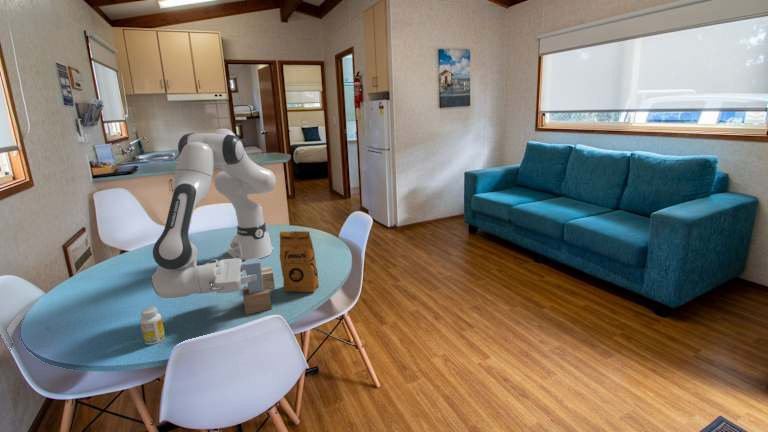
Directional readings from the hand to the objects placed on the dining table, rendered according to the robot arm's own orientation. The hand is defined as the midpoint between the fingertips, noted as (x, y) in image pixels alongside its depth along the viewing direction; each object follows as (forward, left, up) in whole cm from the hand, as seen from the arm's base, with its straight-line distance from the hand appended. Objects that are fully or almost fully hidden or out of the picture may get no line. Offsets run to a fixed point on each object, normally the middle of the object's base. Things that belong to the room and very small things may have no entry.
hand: (256, 270), depth 130 cm
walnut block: (0, -1, -12) cm, 13 cm away
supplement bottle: (-6, -31, -13) cm, 34 cm away
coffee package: (+1, +16, -13) cm, 21 cm away
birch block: (-12, +9, -12) cm, 20 cm away
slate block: (0, -1, -6) cm, 7 cm away
